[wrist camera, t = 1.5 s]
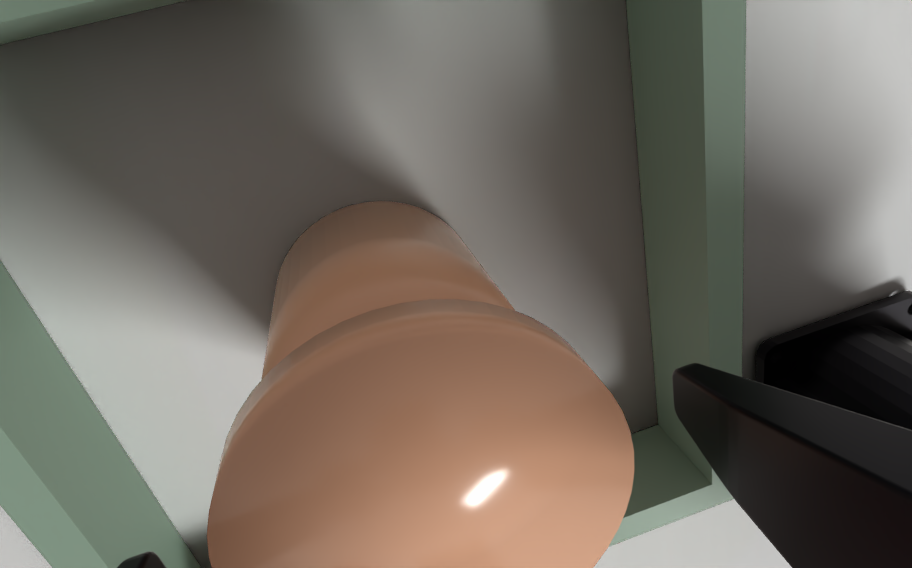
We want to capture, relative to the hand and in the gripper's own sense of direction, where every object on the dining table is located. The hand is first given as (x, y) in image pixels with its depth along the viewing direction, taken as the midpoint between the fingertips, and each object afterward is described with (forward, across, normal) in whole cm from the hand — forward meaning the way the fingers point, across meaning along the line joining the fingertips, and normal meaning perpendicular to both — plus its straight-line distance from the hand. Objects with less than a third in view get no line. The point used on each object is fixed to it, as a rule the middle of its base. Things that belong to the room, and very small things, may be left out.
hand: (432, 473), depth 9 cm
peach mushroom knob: (+7, 0, 0) cm, 7 cm away
